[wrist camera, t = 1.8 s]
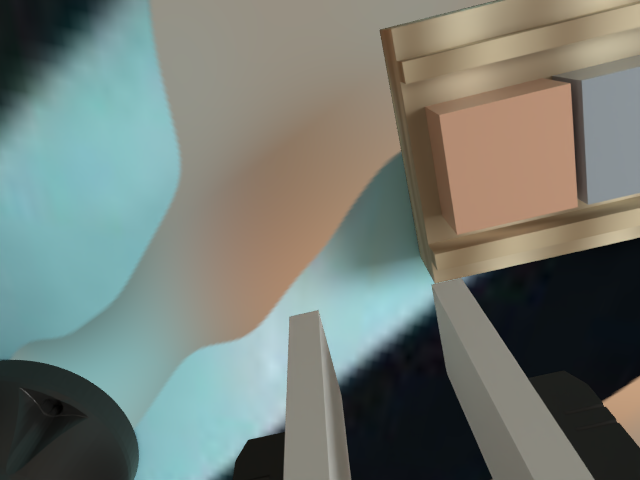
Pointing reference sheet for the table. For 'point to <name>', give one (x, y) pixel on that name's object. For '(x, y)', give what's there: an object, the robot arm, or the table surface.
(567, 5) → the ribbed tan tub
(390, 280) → the table surface
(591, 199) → the slate tile
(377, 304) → the table surface
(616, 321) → the table surface
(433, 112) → the terracotta tile
